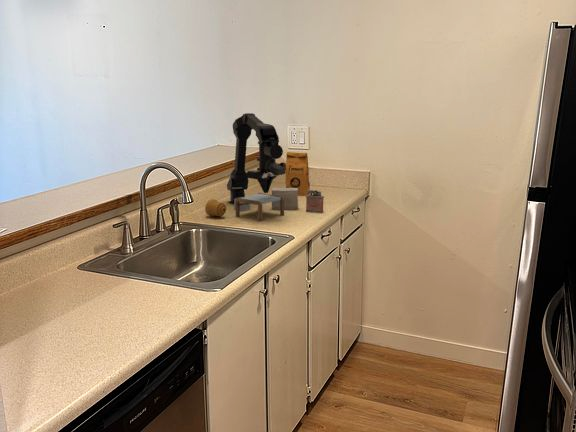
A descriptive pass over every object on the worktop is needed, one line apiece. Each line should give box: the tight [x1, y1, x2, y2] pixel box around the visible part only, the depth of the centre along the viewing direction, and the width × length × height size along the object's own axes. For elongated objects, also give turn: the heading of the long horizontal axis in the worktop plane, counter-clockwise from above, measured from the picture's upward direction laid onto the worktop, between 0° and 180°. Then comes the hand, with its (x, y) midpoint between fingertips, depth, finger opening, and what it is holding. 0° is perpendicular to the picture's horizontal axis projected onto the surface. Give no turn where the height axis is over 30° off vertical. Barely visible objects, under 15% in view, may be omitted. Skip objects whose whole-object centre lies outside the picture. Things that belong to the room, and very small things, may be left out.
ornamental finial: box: [204, 198, 227, 218], centre depth 242 cm, size 8×8×8 cm
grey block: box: [271, 187, 299, 210], centre depth 257 cm, size 12×4×10 cm, turn 89°
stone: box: [233, 197, 251, 212], centre depth 257 cm, size 5×5×5 cm
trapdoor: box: [242, 193, 281, 205], centre depth 244 cm, size 12×12×1 cm
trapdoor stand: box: [235, 192, 285, 223], centre depth 245 cm, size 15×14×8 cm
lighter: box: [305, 189, 325, 214], centre depth 252 cm, size 8×3×10 cm, turn 71°
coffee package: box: [285, 151, 311, 197], centre depth 286 cm, size 10×12×22 cm
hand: (266, 192), depth 241 cm, fingers closed
